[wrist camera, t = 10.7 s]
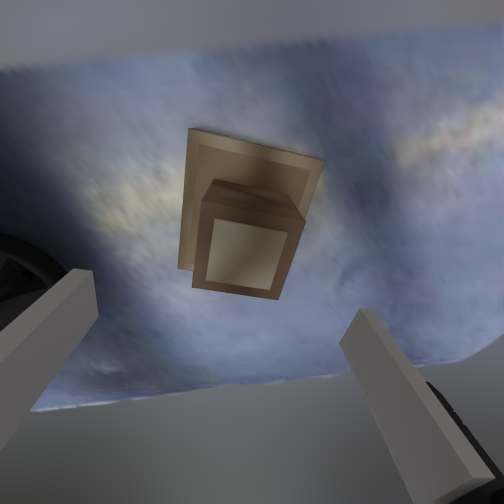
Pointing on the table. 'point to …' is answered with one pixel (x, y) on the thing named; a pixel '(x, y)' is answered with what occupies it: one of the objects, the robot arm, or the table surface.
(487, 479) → the robot arm
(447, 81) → the table surface
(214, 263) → the walnut block
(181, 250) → the maple pad
